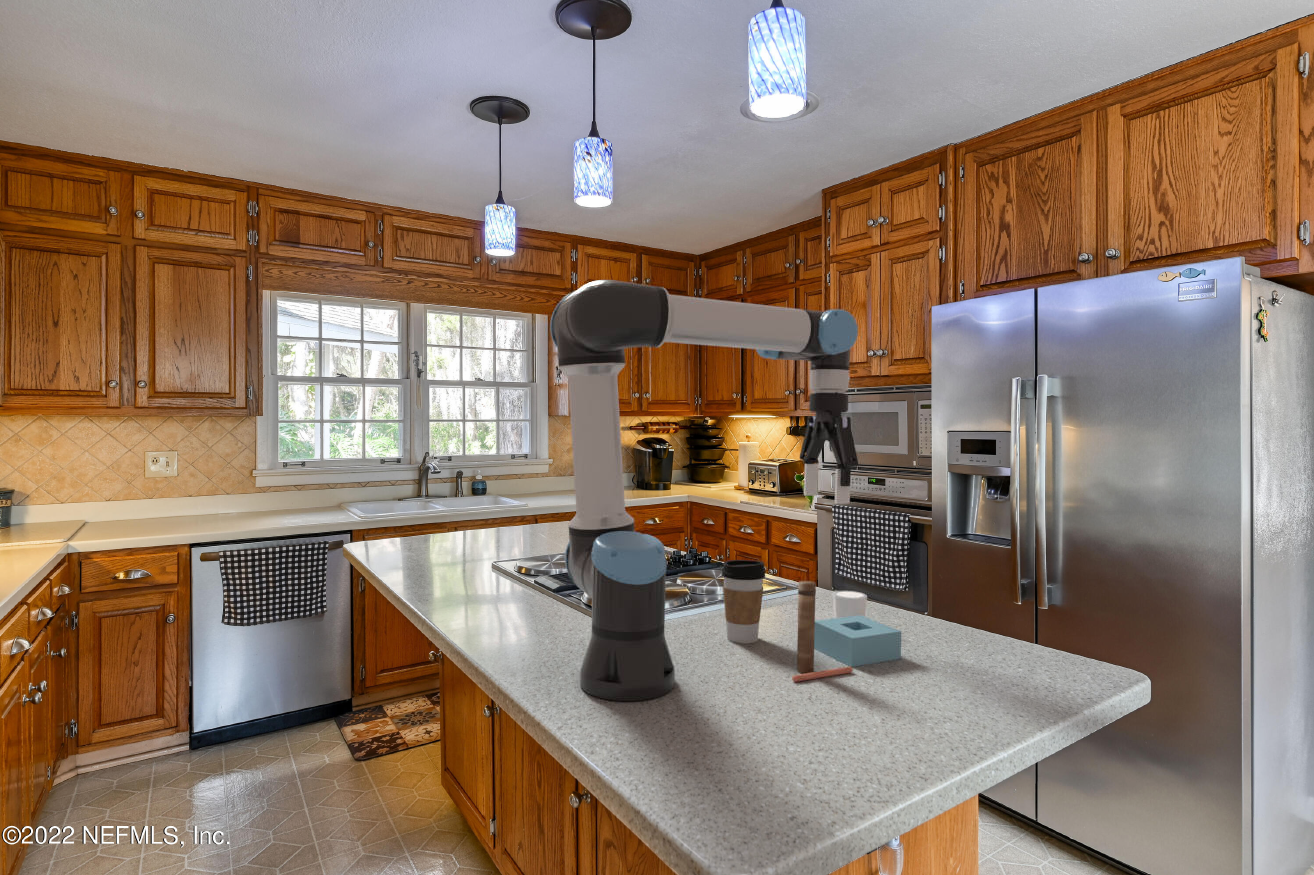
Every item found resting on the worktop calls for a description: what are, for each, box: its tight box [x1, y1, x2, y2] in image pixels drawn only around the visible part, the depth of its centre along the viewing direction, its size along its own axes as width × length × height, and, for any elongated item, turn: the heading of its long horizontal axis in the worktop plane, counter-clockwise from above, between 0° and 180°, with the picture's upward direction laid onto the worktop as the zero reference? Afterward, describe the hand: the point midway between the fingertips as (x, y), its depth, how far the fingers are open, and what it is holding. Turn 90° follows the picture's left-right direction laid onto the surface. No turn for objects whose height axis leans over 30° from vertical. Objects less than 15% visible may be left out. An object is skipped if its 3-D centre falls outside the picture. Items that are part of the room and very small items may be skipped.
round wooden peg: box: [796, 580, 817, 674], centre depth 121 cm, size 3×3×15 cm
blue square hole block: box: [814, 615, 902, 668], centre depth 130 cm, size 11×11×5 cm
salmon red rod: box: [791, 666, 854, 683], centre depth 118 cm, size 12×1×1 cm, turn 114°
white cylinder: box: [832, 590, 868, 618], centre depth 146 cm, size 7×7×7 cm
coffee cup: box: [721, 559, 766, 644], centre depth 138 cm, size 8×8×15 cm
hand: (825, 499), depth 142 cm, fingers open, 13 cm apart
